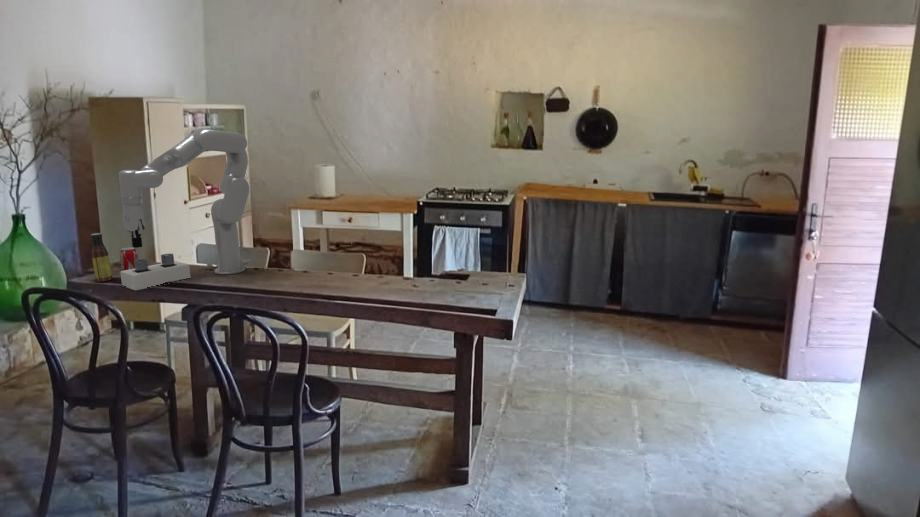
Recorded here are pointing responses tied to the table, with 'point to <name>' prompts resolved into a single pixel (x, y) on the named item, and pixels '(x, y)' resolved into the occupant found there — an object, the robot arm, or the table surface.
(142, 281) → the pin block
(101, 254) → the sauce bottle
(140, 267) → the outer pin
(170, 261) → the inner pin
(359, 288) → the table surface
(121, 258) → the soda can
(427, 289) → the table surface
